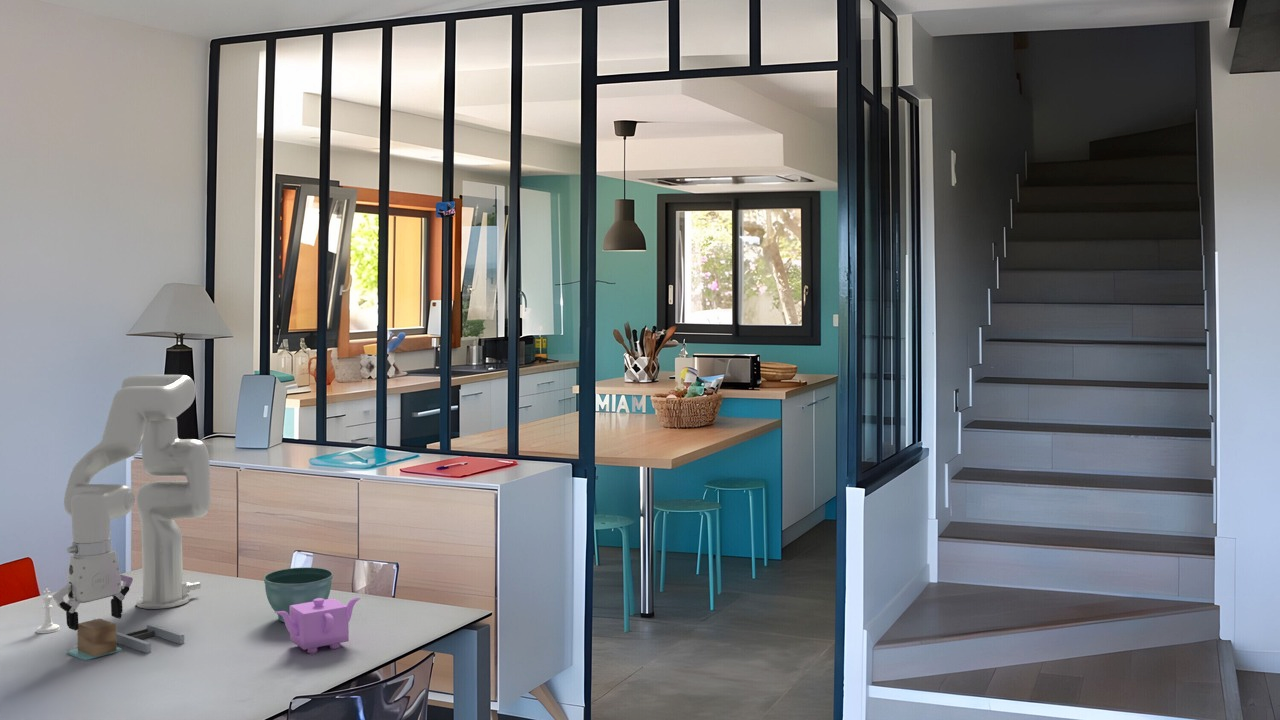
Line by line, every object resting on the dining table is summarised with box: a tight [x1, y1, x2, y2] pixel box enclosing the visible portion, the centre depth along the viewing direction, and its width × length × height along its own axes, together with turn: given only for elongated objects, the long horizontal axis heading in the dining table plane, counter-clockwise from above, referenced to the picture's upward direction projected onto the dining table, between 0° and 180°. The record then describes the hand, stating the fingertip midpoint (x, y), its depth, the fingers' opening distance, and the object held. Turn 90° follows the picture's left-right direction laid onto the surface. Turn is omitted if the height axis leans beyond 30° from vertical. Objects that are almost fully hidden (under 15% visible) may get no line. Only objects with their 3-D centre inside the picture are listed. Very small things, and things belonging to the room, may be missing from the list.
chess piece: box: [36, 587, 61, 634], centre depth 256 cm, size 5×5×10 cm
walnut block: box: [76, 618, 117, 656], centre depth 239 cm, size 5×7×6 cm
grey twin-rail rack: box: [116, 623, 185, 654], centre depth 247 cm, size 9×14×2 cm, turn 54°
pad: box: [66, 646, 122, 661], centre depth 240 cm, size 8×8×1 cm
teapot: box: [273, 597, 362, 654], centre depth 244 cm, size 15×13×11 cm
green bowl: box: [263, 566, 334, 623], centre depth 266 cm, size 16×16×11 cm
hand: (95, 622), depth 241 cm, fingers open, 9 cm apart
